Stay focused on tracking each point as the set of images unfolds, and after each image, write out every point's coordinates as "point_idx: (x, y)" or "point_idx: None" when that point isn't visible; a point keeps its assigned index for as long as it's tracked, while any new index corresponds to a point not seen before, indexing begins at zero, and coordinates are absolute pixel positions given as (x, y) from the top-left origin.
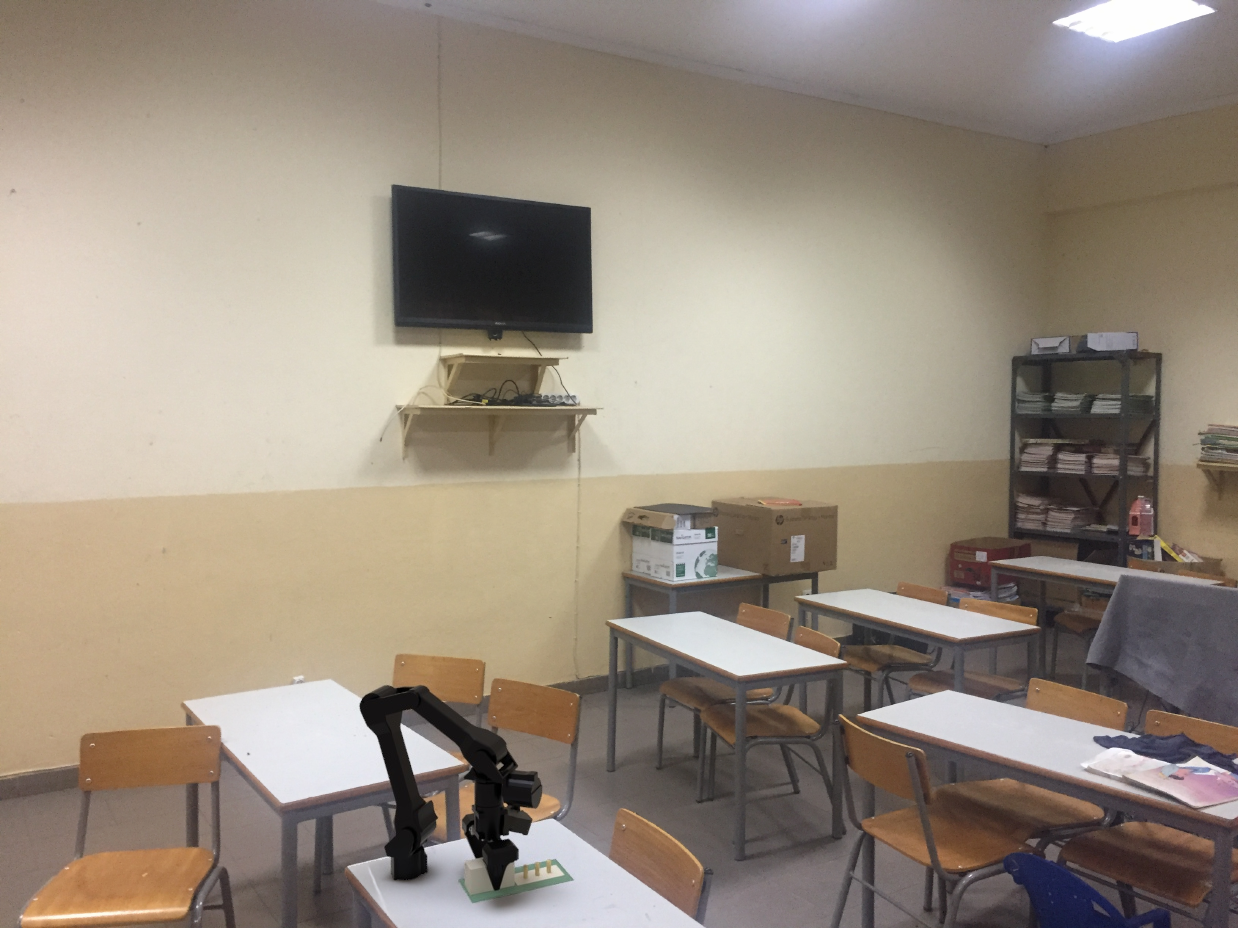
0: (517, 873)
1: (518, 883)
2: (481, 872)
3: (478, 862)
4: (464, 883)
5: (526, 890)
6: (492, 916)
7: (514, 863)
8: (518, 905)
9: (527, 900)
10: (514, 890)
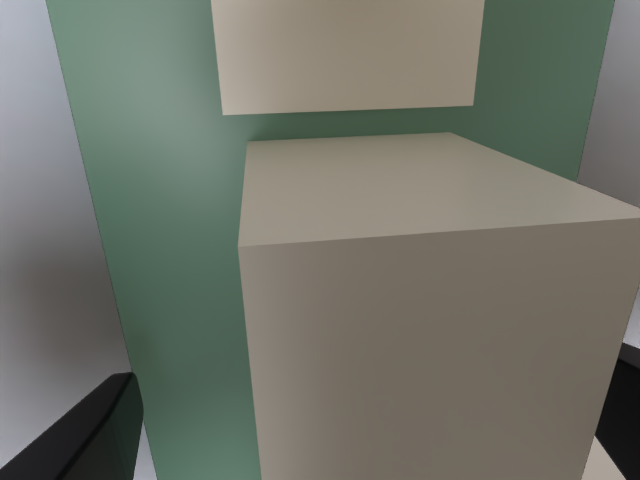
0: (221, 19)
1: (440, 85)
2: None
3: None
4: (238, 475)
5: (595, 49)
6: (637, 343)
7: (608, 197)
8: (635, 159)
9: (619, 66)
10: (529, 159)
